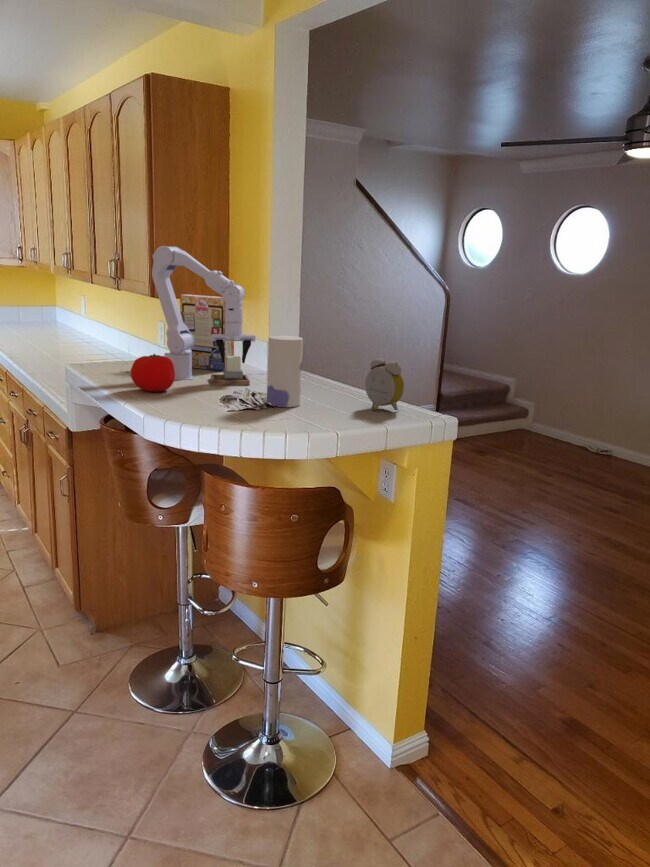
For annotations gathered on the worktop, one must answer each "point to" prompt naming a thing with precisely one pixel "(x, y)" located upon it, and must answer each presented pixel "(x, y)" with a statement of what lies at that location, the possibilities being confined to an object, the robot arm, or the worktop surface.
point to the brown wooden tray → (218, 380)
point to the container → (284, 370)
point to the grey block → (232, 375)
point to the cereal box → (205, 329)
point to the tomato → (153, 373)
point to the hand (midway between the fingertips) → (233, 362)
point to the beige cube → (233, 363)
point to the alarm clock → (384, 383)
